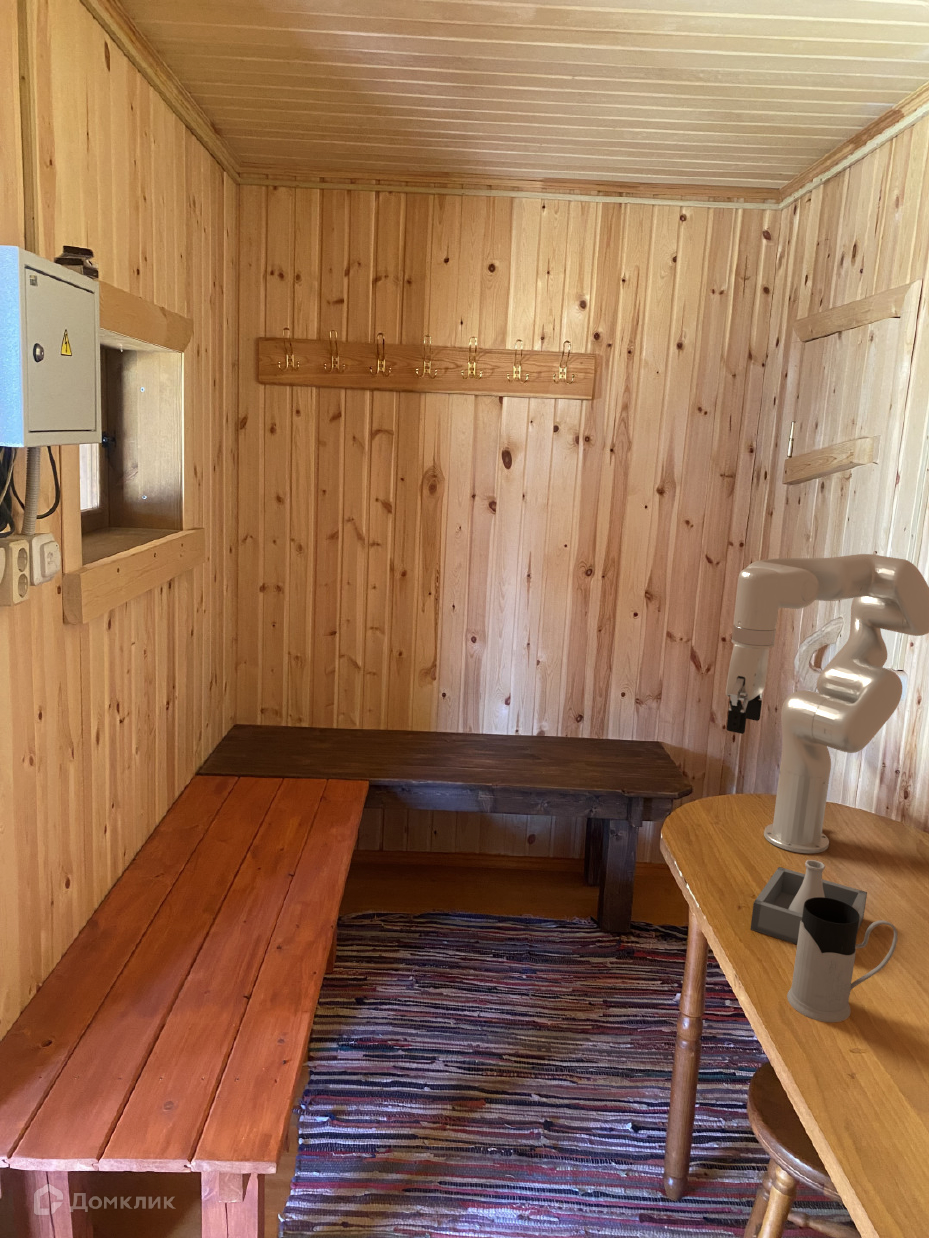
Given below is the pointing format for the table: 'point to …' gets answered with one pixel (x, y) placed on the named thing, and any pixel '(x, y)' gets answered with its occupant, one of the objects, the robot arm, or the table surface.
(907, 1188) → the table surface
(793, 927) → the charcoal box
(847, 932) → the grey mug
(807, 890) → the flask
